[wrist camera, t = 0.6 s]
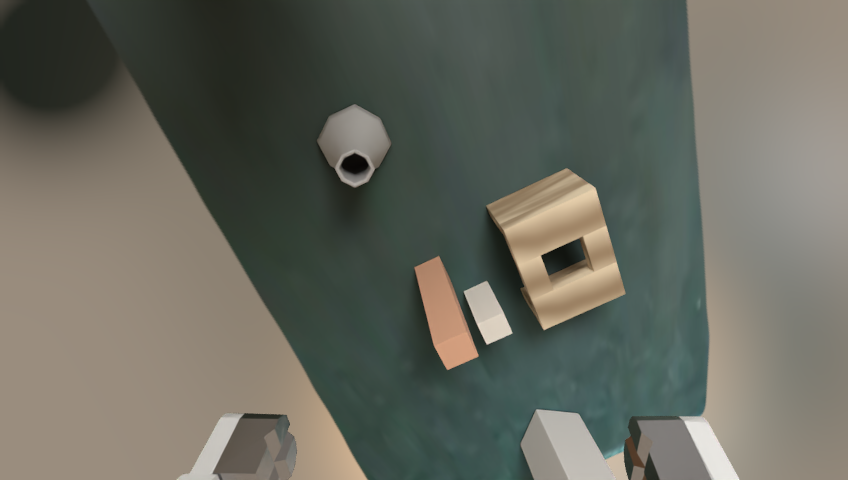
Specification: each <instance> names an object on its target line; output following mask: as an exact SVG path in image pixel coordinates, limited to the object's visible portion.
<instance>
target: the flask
mask: <svg viewBox="0 0 848 480" xmlns="http://www.w3.org/2000/svg"><path fill="white" fill-rule="evenodd" d="M317 143H318V144H319V146H320V148H321V150H322V152H323V154H324V156H325V157H326V159H327V161H328V163H329V165H330V166H331V167H333V168H335V170H336V172H337V174H338V176H339V177H340V179H341V181H342V182H344V183H346V184H348V185H350V186H352V187H354V188H356V187H358V186H360V185H362V184H364V183H367V182H368V181H369V179H370V178H371V176H372V174H373V172H374V170H375V168H378V167H379V166H380V164H381V162H382V160H383V159H384V157H385V155H386V153H387V151H388V149H389V148H390V146H391V144H392V143H391V140H390V138H389V136H388V134H387V132H386V130H385V127H384V125H383V123H382V121H381V119H380V118H379V117H377V116H376V115H374V114H372V113H370V112H368V111H367V110H365V109H363V108H361V107H359V106H357V105H356V104H354V105H351V106H349V107H347V108H345V109H343V110H341V111H339V112H336V113H334V114H332V115H330V116H329V117H328V119H327V121H326V123H325V125H324V127H323V129H322V131H321V133H320V135H319V137H318V139H317Z"/></svg>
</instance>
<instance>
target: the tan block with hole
mask: <svg viewBox="0 0 848 480" xmlns="http://www.w3.org/2000/svg"><path fill="white" fill-rule="evenodd" d="M486 207H487V209H488V212H489V214H490V216H491V218H492V219H493V221H494V222H495V224H496V225H497V227H498V228H499V229H500V231H501V232H502V234H503V235H504V237H505V239H506V242H507V244H508V247H509V249H510V252H511V254H512V257H513V259H514V261H515V264H516V266H517V269H518V271H519V274H520V276H521V279H522V281H523V284H524V286H525V287H523V288H520V289H521V292H522V294H523V297H524V299H525V300H526V302H527V303H528V305H529V307H530V308H531V310H532V312H533V313H534V315H535V316H536V318H537V320H538V321H539V323H540V325H541V326H542V328H543V329H544V330H545V329H547V328H550V327H552V326H554V325H556V324H559V323H561V322H563V321H565V320H568V319H570V318H572V317H574V316H577V315H579V314H581V313H583V312H586V311H588V310H590V309H592V308H595V307H597V306H599V305H601V304H604V303H606V302H608V301H610V300H613V299H615V298H617V297H620V296H622V295H624V294H625V290H624V287H623V283H622V280H621V276H620V273H619V269H618V266H617V262H616V259H615V255H614V252H613V248H612V245H611V241H610V238H609V234H608V230H607V227H606V223H605V220H604V216H603V213H602V209H601V206H600V202H599V199H598V195H597V192H596V188H595V187H593V186H592V185H590V184H589V183H587V182H586V181H585V180H583V179H582V178H580V177H579V176H577V175H576V174H574V173H573V172H572V171H570V170H569V169H567V168H566V169H564V170H562V171H560V172H558V173H555V174H553V175H551V176H549V177H547V178H545V179H542V180H540V181H538V182H536V183H534V184H532V185H530V186H527V187H525V188H523V189H521V190H519V191H517V192H514V193H512V194H510V195H508V196H506V197H504V198H502V199H499V200H497V201H495V202H493V203H491V204H489V205H487V206H486ZM578 238H579V239H580V242H581V245H582V248H583V251H584V254H585V257H586V259H585V260H582V261H580V262H578V263H576V264H574V265H571V266H569V267H567V268H565V269H563V270H560V271H558V272H556V273H554V274H551V275H549V276H548V274H547V271H546V268H545V266H544V263H543V260H542V258H541V255H543V254H545V253H547V252H549V251H552V250H554V249H556V248H558V247H560V246H563V245H565V244H567V243H569V242H571V241H574V240H576V239H578Z"/></svg>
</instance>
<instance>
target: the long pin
mask: <svg viewBox="0 0 848 480" xmlns="http://www.w3.org/2000/svg"><path fill="white" fill-rule="evenodd" d="M415 271H416V275H417V279H418V283H419V287H420V291H421V296H422V300H423V304H424V308H425V312H426V316H427V320H428V324H429V328H430V332H431V336H432V340H433V344H434V347H435V349H436V350H437V352H438V354H439V356H440V358H441V359H442V361H443V363H444V365H445V367H446V368H447V370H449V369H451V368H453V367H456V366H458V365H460V364H462V363H465V362H467V361H469V360H471V359H474V358H476V357H478V353H477V350H476V348H475V345H474V342H473V339H472V337H471V334H470V331H469V329H468V326H467V323H466V321H465V318H464V315H463V313H462V310H461V307H460V305H459V302H458V299H457V297H456V294H455V291H454V289H453V286H452V283H451V281H450V278H449V276H448V274H447V272H446V269H445V267H444V265H443V263H442V261H441V259H440V257H439V256H438V257H436V258H434V259H432V260H429V261H427V262H425V263H423V264H421V265H419V266H416V267H415Z"/></svg>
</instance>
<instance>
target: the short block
mask: <svg viewBox="0 0 848 480" xmlns="http://www.w3.org/2000/svg"><path fill="white" fill-rule="evenodd" d="M464 294H465V296H466V299H467V301H468V304H469V306H470V309H471V311H472V314H473V316H474V318H475V321H476V323H477V326H478V328H479V330H480V332H481V334H482V336H483V338H484V340H485V342H486V344H490V343H492V342H494V341H496V340H499V339H501V338H503V337H505V336H508V335H510V334H512V331H511V328H510V326H509V324H508V322H507V319H506V317H505V315H504V313H503V311H502V309H501V307H500V305H499V303H498V301H497V299H496V297H495V295H494V293H493V291H492V289H491V287H490V286H489V284H488V282H487V281H485V282H483V283H481V284H479V285H477V286H475V287H472V288H470V289H468V290H466V291H464Z"/></svg>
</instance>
